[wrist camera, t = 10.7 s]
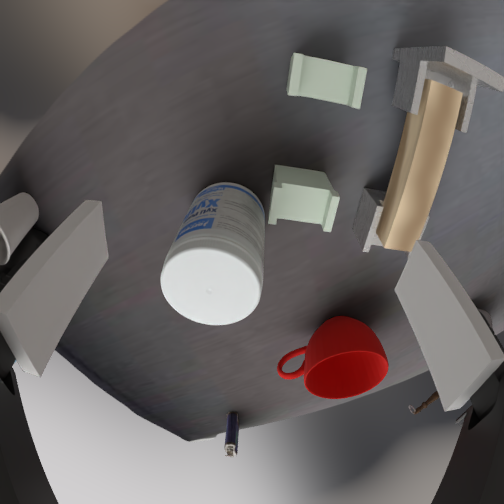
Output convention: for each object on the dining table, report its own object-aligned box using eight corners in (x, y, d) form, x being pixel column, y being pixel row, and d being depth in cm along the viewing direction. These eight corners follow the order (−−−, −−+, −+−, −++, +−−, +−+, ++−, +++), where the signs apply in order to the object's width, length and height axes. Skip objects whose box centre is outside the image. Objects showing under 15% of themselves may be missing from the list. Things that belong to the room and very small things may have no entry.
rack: (268, 194, 38) (268, 223, 32) (288, 56, 29) (294, 52, 23) (320, 202, 38) (330, 232, 32) (347, 68, 29) (367, 68, 23)
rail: (374, 230, 36) (384, 247, 33) (414, 77, 26) (431, 79, 22) (402, 234, 36) (413, 252, 33) (443, 88, 26) (462, 93, 23)
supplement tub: (213, 165, 36) (184, 223, 24) (280, 204, 39) (285, 277, 27) (178, 226, 41) (144, 299, 29) (240, 258, 44) (229, 340, 31)
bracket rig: (352, 228, 40) (377, 286, 30) (393, 48, 27) (446, 46, 17) (398, 236, 40) (432, 291, 30) (444, 68, 27) (505, 78, 17)
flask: (239, 427, 73) (236, 462, 64) (228, 426, 73) (224, 462, 64) (238, 411, 68) (234, 451, 59) (225, 411, 68) (221, 450, 59)
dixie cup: (6, 215, 41) (-29, 246, 33) (14, 175, 37) (-27, 204, 29) (40, 239, 43) (7, 275, 35) (50, 201, 39) (11, 235, 31)
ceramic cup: (272, 308, 48) (272, 359, 40) (378, 296, 46) (396, 344, 38) (280, 358, 55) (280, 404, 47) (370, 348, 53) (381, 392, 45)
